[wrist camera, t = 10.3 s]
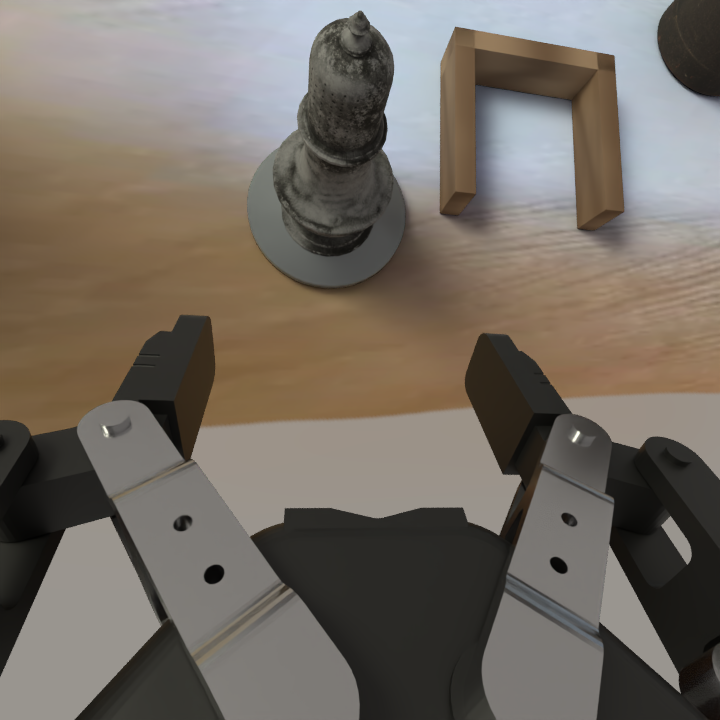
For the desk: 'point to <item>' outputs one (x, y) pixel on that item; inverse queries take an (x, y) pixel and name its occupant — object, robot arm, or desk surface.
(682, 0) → the container
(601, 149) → the wooden arch
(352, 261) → the grey oval disc
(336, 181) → the stone finial
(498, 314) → the desk surface
